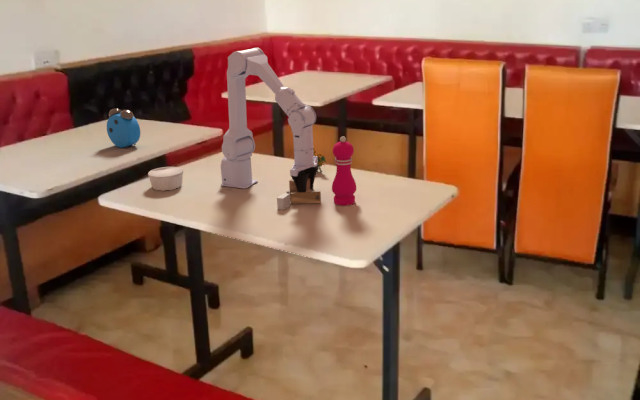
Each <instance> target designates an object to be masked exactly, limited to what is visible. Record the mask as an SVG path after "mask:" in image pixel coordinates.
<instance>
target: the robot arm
mask: <svg viewBox="0 0 640 400" xmlns="http://www.w3.org/2000/svg"><path fill="white" fill-rule="evenodd" d="M249 75H250V76H257V77H259V79H260V80H261V81H262V82H263V83H264V84H265V85H266V86H267V87H268V88H269V89H270V90H271V91H272V93H273V94H275V95H274V101H275V102H276V103H277V104H278V105H279V107H280V109H282V111H283V112H284V113H285V115H286V116H287V117H288V118H287V122H288V125H289V126H290V127H291V133H292V137H293V138H292V140H293V154H294V155H293V159H294V162H293V165H292V167H291V168H290V169H289V174H290V177H291V179H293V180H294V182H295V185H296V188H297V191H298V192H306V188H307V180H308V178H310V190H311V191H313V190H314V184H315V183H314V182H315V178H316V176H317V171H318V172H319V166H317V163H318V157H317V156H314V154H313V151H314V150H313V147H314V133H313V132H314V130H313V125H315V123H316V122H317V114H316V112H315V110H314V108H313V107H312V106H310V105H307V104H306V103H304V102H303V101H302V100H301V99H300V98H299V96H298V95H297V94H296V91H295V90H294V89H293V88H292V87H287V86H285V85H284V84H283V83H282V82H281V80H280V79H279V77H278V76H277V74H276V72H275V71H274V70H273V68H272V67H271V66H270V64H269V62H268V56H267V55H266V54H265V53H264V51H263V50H262V49H261V48H259V47H253V48H250V49H249V48H248V49H244V50H236V51H233V52H232V53H231V54H229V56H227V70H226V81H227V83H226V84H227V101H228V102H227V104H228V105H227V107H228V121H229V122H228V123H229V124H228V126H229V127H228V129H227V131H225V134H223V137H222V139H223V142H222V144H221V151H222V154H223V156H224V157H222V159H221V162H220V174H221V176H220V177H221V183H220V186H222V187H229V188H236V189H237V188H238V189H247V188H249V187H251V186H253V185H254V184H256V183H258V179H253V172H252V156H253V152H254V151H255V149H256V144H255V143H256V142H255V139H254V138H253V137H254V135H253V132H252V130H250V129H249V128H248V120H247V118H248V117H247V97H246V96H247V93H246V78H247V77H249Z"/></svg>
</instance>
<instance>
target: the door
mask: <svg viewBox="0 0 640 400" xmlns="http://www.w3.org/2000/svg"><path fill="white" fill-rule="evenodd" d="M321 197H322V194H321V191H311V192H291V199H290V205H297V204H298V205H299V204H318V203H319V204H321V203H322V198H321Z"/></svg>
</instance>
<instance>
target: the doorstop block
mask: <svg viewBox="0 0 640 400" xmlns="http://www.w3.org/2000/svg"><path fill="white" fill-rule="evenodd" d="M288 182H289V192H290V200H291V192H298V191H297V188H296V185H295V182H294V180H293V179H292V178H291V179H289V181H288ZM306 192H312V190H310V178H308V180H307V188H306Z"/></svg>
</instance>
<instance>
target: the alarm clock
mask: <svg viewBox="0 0 640 400" xmlns="http://www.w3.org/2000/svg"><path fill="white" fill-rule="evenodd" d="M108 116H109V117H108V119H107V121H106V133H107V135H108V138H109V140H110V141H111V143H112V144H113V145H114V146H116V147H117V148H120V149H121V148H126V147H130V146H133V145H134V146H135V145H136V146H137V143H138V142H139V141H140V138H141V128H140V123H139V122H138V120H137V119H136V117H135V116H134V114H133V112H132V111H131V110H130V109H122V110H121V109H119V108H112V109H110V110H109V112H108Z"/></svg>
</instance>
